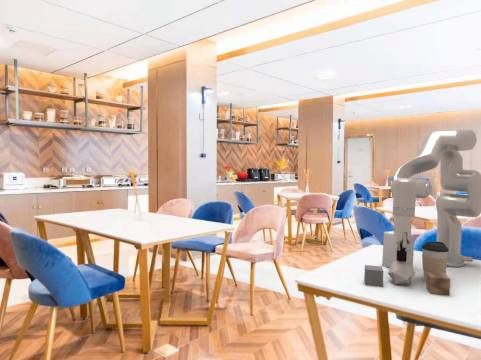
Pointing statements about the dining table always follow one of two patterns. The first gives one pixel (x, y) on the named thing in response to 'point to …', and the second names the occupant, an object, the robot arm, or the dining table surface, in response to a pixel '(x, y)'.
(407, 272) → the die
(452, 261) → the robot arm
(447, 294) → the walnut block
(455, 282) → the dining table surface
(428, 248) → the coffee cup
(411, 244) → the supplement box
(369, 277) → the charcoal block
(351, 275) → the dining table surface
